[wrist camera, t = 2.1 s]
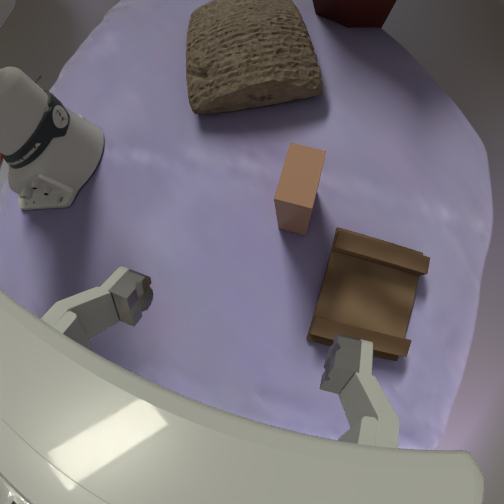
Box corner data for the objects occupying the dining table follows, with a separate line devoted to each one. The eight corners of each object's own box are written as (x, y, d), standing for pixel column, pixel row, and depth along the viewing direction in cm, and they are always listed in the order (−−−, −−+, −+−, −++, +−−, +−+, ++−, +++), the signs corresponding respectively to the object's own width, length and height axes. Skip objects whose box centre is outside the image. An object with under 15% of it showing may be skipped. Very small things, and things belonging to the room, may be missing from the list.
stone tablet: (193, 21, 47) (194, 124, 41) (183, -6, 39) (177, 92, 33) (288, 7, 45) (326, 105, 40) (287, -23, 37) (332, 69, 32)
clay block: (305, 235, 36) (312, 208, 26) (278, 228, 37) (274, 198, 26) (316, 191, 37) (326, 151, 26) (290, 185, 38) (290, 142, 27)
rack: (394, 360, 32) (403, 365, 29) (306, 338, 34) (308, 342, 31) (420, 254, 34) (431, 249, 31) (336, 228, 36) (340, 221, 33)
